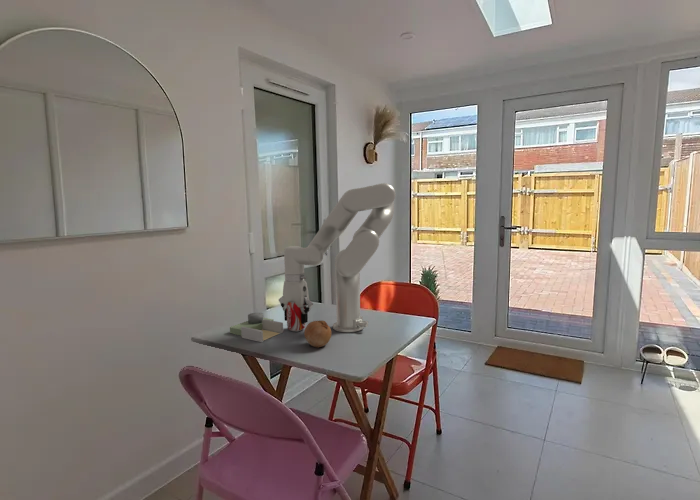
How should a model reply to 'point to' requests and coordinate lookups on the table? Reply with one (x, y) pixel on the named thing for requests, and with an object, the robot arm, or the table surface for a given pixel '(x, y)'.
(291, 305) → the soda can
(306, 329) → the onion
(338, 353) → the table surface
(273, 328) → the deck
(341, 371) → the table surface
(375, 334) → the table surface
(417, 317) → the table surface
